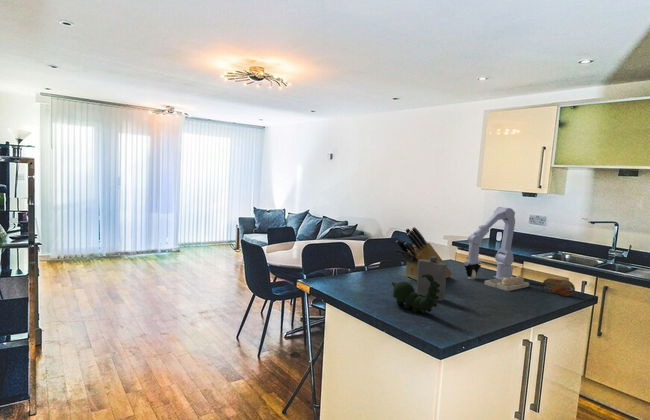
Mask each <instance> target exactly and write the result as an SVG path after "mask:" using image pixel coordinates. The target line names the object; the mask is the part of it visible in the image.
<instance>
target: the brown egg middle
mask: <svg viewBox="0 0 650 420" xmlns="http://www.w3.org/2000/svg"><path fill="white" fill-rule="evenodd" d="M509 279H510V281H511V284H512V285H517V279H516V276H512V277H510V278H509Z"/></svg>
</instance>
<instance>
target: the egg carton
mask: <svg viewBox="0 0 650 420" xmlns="http://www.w3.org/2000/svg"><path fill="white" fill-rule="evenodd" d="M504 278H507V277H503V278H493V279H487V280H484V284H483V285H486V286H489V287H493V288H496V289H500V290H504V291H507V292H510V291H514V290H519V289H523V288H527V287H530V282H528V281H524V283H523V284H520V283H517V285H512V284H510V286H509V287H507V286H503V285H502V280H503V279H504ZM508 279H509V278H508Z"/></svg>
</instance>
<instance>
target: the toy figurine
mask: <svg viewBox="0 0 650 420" xmlns="http://www.w3.org/2000/svg"><path fill="white" fill-rule="evenodd" d="M423 277H426V278H427V279H428V281H430V282H431V283H430V287H429V288H428V292H427V294H426V297H425V296H424V297H423V296H420V295H418V294H417V293H416V290H415V288H414V286H413V285H412V284H411V283H410V282H408V281H402V280H401V281H399V282H395V281H394V282H393V281H391V285H392V286H393V292H392V294H393V295H392V297H393V299H394V298H395V300H396V301H395V302H396V304H397V305H399V306H402V305H403V306H404V308H405V309H410V308H412V312H413V313H415V314H416V313H417V312H421V313H422V314H426V312H428V313H431V312H432V310H433V308H436V307H437V306H438V303H436V300H435V299H439V297H438V296H436V294H437V293H439V292H440V291H439V289H437V288H438V287H440V284H438V283H437V282H436V281H433V280H434V278H433V276H432V275H430V274H427V273H426V274H423V275H422V278H423Z"/></svg>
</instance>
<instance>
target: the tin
mask: <svg viewBox="0 0 650 420" xmlns="http://www.w3.org/2000/svg"><path fill="white" fill-rule="evenodd" d="M542 289H543V291H544V292H545V293H549V294H550V293H551V294H556V295H558V296H561V297H562V296H563V297H570V296H572V295H574V293H575V291H576V287H575V284H574V283H573V282H571V281H570V280H566V279H558V278H550V277H548V278H546V279H545V280H543V282H542Z"/></svg>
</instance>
